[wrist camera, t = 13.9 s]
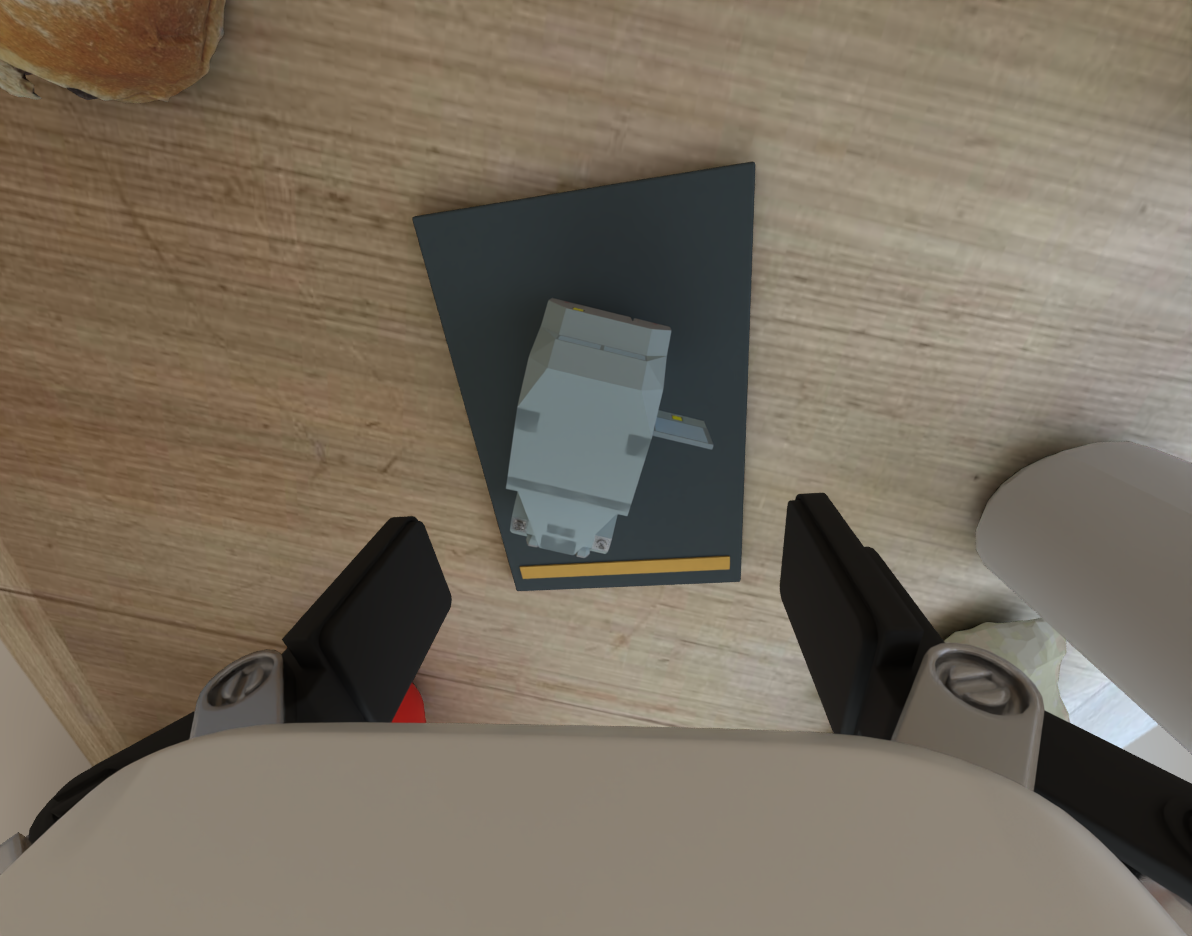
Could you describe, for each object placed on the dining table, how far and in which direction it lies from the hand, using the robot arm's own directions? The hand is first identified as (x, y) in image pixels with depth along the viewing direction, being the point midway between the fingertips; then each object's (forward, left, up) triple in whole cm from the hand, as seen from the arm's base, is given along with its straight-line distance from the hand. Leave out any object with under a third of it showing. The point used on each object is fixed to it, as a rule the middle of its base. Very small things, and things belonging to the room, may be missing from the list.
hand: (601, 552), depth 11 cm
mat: (0, 0, -9) cm, 9 cm away
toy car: (0, 0, -9) cm, 9 cm away
